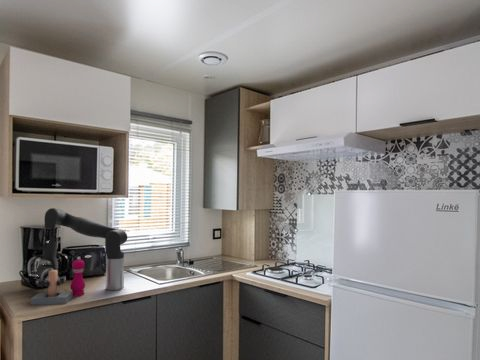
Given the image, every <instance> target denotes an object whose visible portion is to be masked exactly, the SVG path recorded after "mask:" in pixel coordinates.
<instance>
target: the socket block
mask: <svg viewBox="0 0 480 360" xmlns="http://www.w3.org/2000/svg"><path fill="white" fill-rule="evenodd" d="M73 297H74V296H73V292H71V291H57V296H56V297H48V291H47V292H39V293H37V294H35V295H34V296H32V297H31V298H30V305H31V306H37V305H61V304H63V305H65V304H67V303H68V302H69V301H70V300H71V299H72V298H73Z"/></svg>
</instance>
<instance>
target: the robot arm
mask: <svg viewBox="0 0 480 360" xmlns="http://www.w3.org/2000/svg"><path fill="white" fill-rule="evenodd" d="M56 226H63V227H65V228H70V229H71V230H72V231H74V232H76V233H79V234H80V235H83V236H87V237H91V238H101V239H104V243H105V245H104V247H105V249H104V250H105V255H106V272H105V274H106V275H105V290H108V291H119V290H123V288H124V287H125V285H124V284H125V269H124V268H125V267H124V263H125V253H124V252H123V251H122V250H121V245H124V244H125V243H126V242H127V241H128V235H127V232H126V231H125V230H123V229H121V228H117V227H116V228H115V227H112V226H111V227H110V226H107V225H105V224H102V223H100V222H96V221H94V220H92V219H88V218H85V217H82V216H75V215H72V214H70V213H68V212H67V211H64V210H61V209H59V208H55V207H52V208H49V209H47V210H46V212H45V214H44V229H45V228H51V229H53V231H52V232H55V233H56ZM52 235H54V234H52ZM54 240H55V238H54V237H53V236H52V237H51V239H50V241H49V243H48V244H47V246H46V248H45V249H44V250H43V249H42V255H44V260H43V261H47V260H48V261H47V262H50V264H46V265H45V264H43V263H42V264H40V265H38V266H37V267H38V268H37V267H36V269H37V275H38V276H39V277H40V278H39V277H38V276H37V275H36V276H37V277H38V278H37V279H36V282H35V284H36V285H38V286H40V287H43V286H45V287H46V288H48V287H49V281H48V277H49V271H50V270H58V267H57V260H56V258H57V252H58V243H57V244H56V242H55V241H54ZM66 278H67V276H66V275H63V276H59V275H58V279H57V287H58V286H60V285H63V284H64V283H65V282H66V280H67V279H66Z"/></svg>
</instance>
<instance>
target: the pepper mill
mask: <svg viewBox="0 0 480 360" xmlns="http://www.w3.org/2000/svg"><path fill="white" fill-rule="evenodd" d="M85 266H86V265H85V261H84V260H83V259H81V256H77V258H76V259H75V260H73V262H72V268H73V269H72V272H73V278H72V281H71V283H70V285H69V287H70V290H71V291H70V292H73V297H80V296H83V295H84V294H85V287H86V282H85V280H84V278H83V272H84V267H85Z"/></svg>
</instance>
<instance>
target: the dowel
mask: <svg viewBox="0 0 480 360" xmlns="http://www.w3.org/2000/svg"><path fill="white" fill-rule="evenodd" d="M58 272H59V271H58V269H57V270H50V271H49V277H48V281H49V287H47V292H48V297H56V296H57V292H58V285H57V279H58V276H59V273H58Z"/></svg>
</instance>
